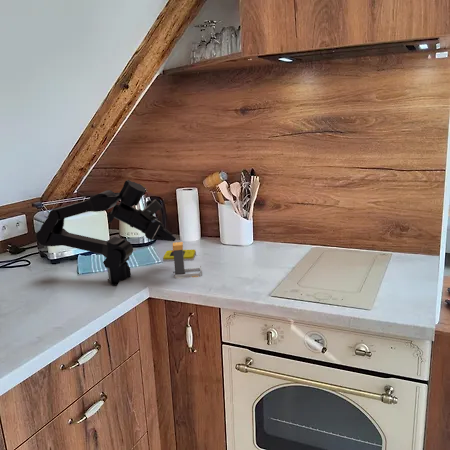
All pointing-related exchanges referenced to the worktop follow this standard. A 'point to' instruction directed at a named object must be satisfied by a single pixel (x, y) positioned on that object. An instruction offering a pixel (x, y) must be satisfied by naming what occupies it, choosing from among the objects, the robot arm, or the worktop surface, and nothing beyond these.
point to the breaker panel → (190, 274)
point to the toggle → (178, 258)
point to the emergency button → (187, 255)
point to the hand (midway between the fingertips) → (173, 237)
